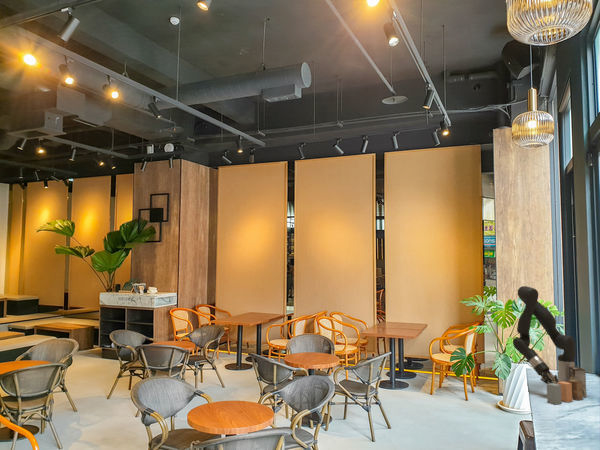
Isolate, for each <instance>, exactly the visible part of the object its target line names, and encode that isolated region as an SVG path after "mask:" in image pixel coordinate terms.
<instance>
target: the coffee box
mask: <svg viewBox="0 0 600 450" xmlns="http://www.w3.org/2000/svg"><path fill="white" fill-rule="evenodd" d="M586 377H587V375H586V369H584V368H582V367H581V366H575V367H569V379H570V380H577V381H582V391H583V399H584V398H585V399H587V396H588V395H587V378H586Z"/></svg>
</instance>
